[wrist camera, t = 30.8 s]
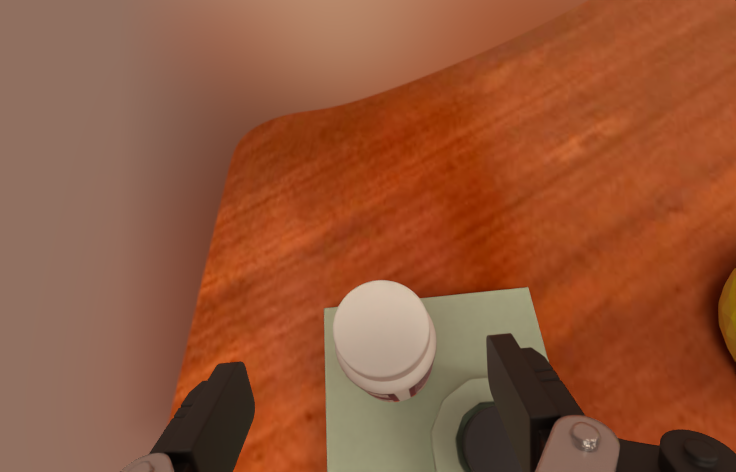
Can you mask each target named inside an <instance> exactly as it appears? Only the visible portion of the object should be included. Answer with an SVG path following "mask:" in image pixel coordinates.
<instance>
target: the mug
mask: <svg viewBox="0 0 736 472" xmlns="http://www.w3.org/2000/svg"><path fill="white" fill-rule="evenodd" d="M718 313H719V327H720V329H721V332H722V335H723V337H724V340H725V343H726V345H727V348H728V350H729V351H730V353H731V355H732V357H733V358H734V360H735V362H736V268H735V269H734V270H733V271H732V273H731V275H730V276H729V278H728V280H727V281H726V283H725V285H724V287H723V290H722V293H721V296H720V300H719V303H718Z"/></svg>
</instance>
